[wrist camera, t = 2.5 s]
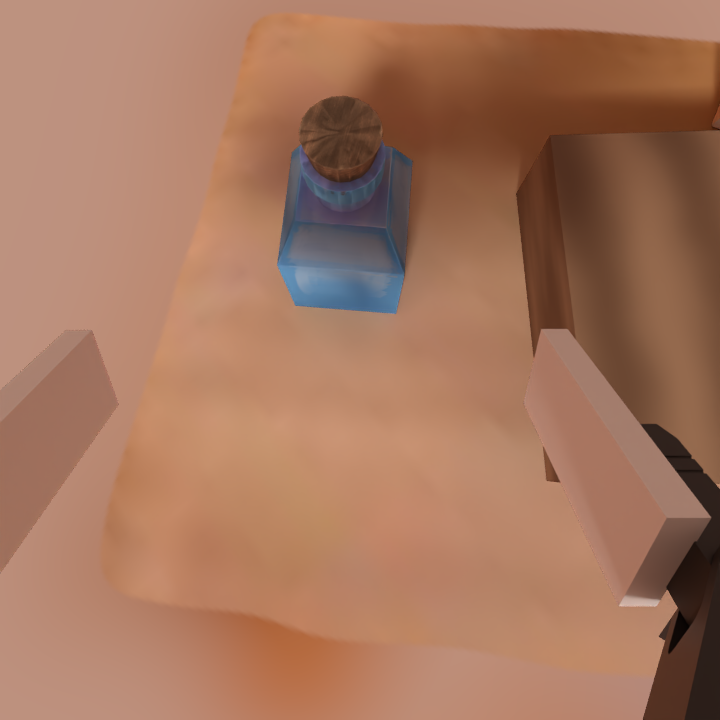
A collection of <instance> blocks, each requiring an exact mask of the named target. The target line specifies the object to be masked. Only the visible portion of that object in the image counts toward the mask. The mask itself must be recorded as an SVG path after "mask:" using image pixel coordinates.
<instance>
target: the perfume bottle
mask: <svg viewBox="0 0 720 720" xmlns="http://www.w3.org/2000/svg"><path fill="white" fill-rule="evenodd" d="M382 137H383V131H382V123H381V121H380V119H379V117H378V114H377V113H376V112H375V111H374V110H373V109H372V108H371V107H370V106H369V105H368V104H367V103H365V102H363V101H361V100H359V99H357V98H352V97H348V96H336V97H330V98H327V99H324V100H321V101H319V102H318V103H316V104H315V105H314V106H312V107H311V108H310V109H309V110H308V111H307V113H306V114H305V115H304V117H303V118H302V121H301V125H300V128H299V138H300V143H301V145H300V146H299V147H297V148H296V149H295V150H294V151H293V152H292V156H291V164H290V172H289V179H288V187H287V195H286V202H285V210H284V218H283V225H282V233H281V240H280V248H279V256H278V263H277V266H278V268H279V270H280V272H281V275H282V277H283V279H284V281H285V283H286V286H287V288H288V290H289V292H290V294H291V297H292V299H293V301H294V303H295V305H296V306H307V307H319V308H332V309H344V310H356V311H369V312H381V313H394V314H396V311H397V306H398V302H399V297H400V293H401V288H402V284H403V279H404V274H405V260H406V246H407V232H408V218H409V204H410V190H411V176H412V162H413V161H412V160H410V159H409V158H407V157H406V156H405V155H403V154H402V153H400V152H399V151H398V150H396V149H395V148H393V147H387V146H384V143H383V141H382Z"/></svg>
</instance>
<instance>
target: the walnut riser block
mask: <svg viewBox="0 0 720 720" xmlns="http://www.w3.org/2000/svg"><path fill="white" fill-rule="evenodd" d="M516 195H517V205H518V214H519V223H520V233H521V242H522V252H523V261H524V271H525V280H526V290H527V299H528V309H529V318H530V328H531V337H532V347H533V356H534V357H535V353H536V349H537V344H538V340H539V336H540V332H541V329H568V330H569V332H570V333H571V334H572V335H573V337H574V338H575V339H576V341H577V342H578V343H579V345H580V346H581V347H582V349H583V350H584V351H585V353H586V354H587V355H588V356H589V358H590V359H591V360H592V362H593V363H594V364H595V366H596V367H597V368H598V370H599V371H600V372H601V374H602V375H603V376H604V377H605V379H606V380H607V381H608V383H609V384H610V385H611V387H612V388H613V389H614V391H615V392H616V393H617V395H618V396H619V397H620V398H621V400H622V401H623V402H624V404H625V405H626V406H627V408H628V409H629V410H630V412H631V413H632V414H633V416H634V417H635V418H636V419H637V421H638V422H639V423H640V424H658V425H659V426H661V427H662V428H663V429H665V430H666V431H668V432H669V433H670V434H672V435H673V436H675V437H676V438H678V440H679V441H680V442H681V443H682V444H683V446H684V447H685V448H686V449H687V450H688V452H689V453H690V454H691V455H692V459H695V460H696V461H697V463H698V464H699V465H700V466H701V467H702V469H703V472H704V473H707V475H708V476H709V477H710V478H711V479H712V481H713V482H714V483H715V484H720V130H712V131H678V132H644V133H611V134H577V135H550V137H549V138H548V140H547V142H546V144H545V145H544V147H543V149H542V151H541V152H540V154H539V156H538V157H537V159H536V161H535V163H534V164H533V166H532V168H531V170H530V171H529V173H528V175H527V176H526V178H525V180H524V182H523V183H522V185H521V187H520V189H519V190H518V192H517V194H516ZM543 451H544V460H545V470H546V479H547V481H552V482H560V480H559V478H558V476H557V474H556V472H555V470H554V468H553V465H552V463H551V461H550V459H549V457H548V455H547V453H546V450H545V448H544V446H543ZM560 483H561V482H560Z"/></svg>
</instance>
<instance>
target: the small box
mask: <svg viewBox="0 0 720 720" xmlns="http://www.w3.org/2000/svg"><path fill="white" fill-rule="evenodd" d="M712 126H713V127H715V128H717V129H720V104H719V107H718V110H717V112H716V115H715V117H714V120H713V122H712Z"/></svg>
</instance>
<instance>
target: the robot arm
mask: <svg viewBox="0 0 720 720" xmlns="http://www.w3.org/2000/svg"><path fill="white" fill-rule="evenodd" d="M523 404H524V406H525V408H526V410H527V412H528V414H529V416H530V419H531V421H532V423H533V425H534V427H535V429H536V431H537V433H538V436H539V438H540V440H541V442H542V444H543V446H544V448H545V450H546V453H547V455H548V457H549V459H550V461H551V463H552V465H553V468H554V470H555V472H556V474H557V476H558V478H559V480H560V482H561V485H562V487H563V489H564V491H565V493H566V495H567V497H568V499H569V502H570V504H571V506H572V508H573V510H574V512H575V514H576V516H577V519H578V521H579V523H580V525H581V527H582V529H583V531H584V533H585V536H586V538H587V540H588V542H589V544H590V546H591V548H592V551H593V553H594V555H595V557H596V559H597V561H598V563H599V565H600V568H601V570H602V572H603V574H604V576H605V578H606V580H607V582H608V585H609V587H610V589H611V591H612V593H613V595H614V597H615V599H616V602H617V604H618V606H657V604H658V603H659V601H660V600H661V598H662V596H663V595H664V593H665V592H666V590H668V591H669V593H670V595H671V596H672V598H673V600H674V602H675V603H676V605H677V607H678V609H677V610H676V612H675V613H674V615H673V616H672V618H671V619H670V621H669V622H668V624H667V625H666V627H665V628H664V630H663V631H662V632H661V634H660V635H659V637H660V638H662V639H663V640H665V639H666V640H665V643H664V647H663V650H662V654H661V657H660V661H659V664H658V668H657V671H656V675H655V678H654V682H653V685H652V689H651V693H650V696H649V699H648V703H647V707H646V710H645V713H644V717H643V720H720V489H719V488H718V487H717V485H716V484H715V483H714V482H713V481H712V479H711V478H710V477H709V476H708V475H707V473H704V472H703V469H702V467H701V466H700V465H699V464H698V463H697V461H696V460H695V459H692V455H691V454H690V453H689V452H688V450H687V449H686V448H685V447H684V446H683V444H682V443H681V442H680V441H679V440H678V438H676V437H675V436H673V435H672V434H670V433H669V432H668V431H666V430H665V429H663V428H662V427H661V426H659V425H658V424H640V423H639V422H638V421H637V419H636V418H635V417H634V416H633V414H632V413H631V412H630V410H629V409H628V408H627V406H626V405H625V404H624V402H623V401H622V400H621V398H620V397H619V396H618V395H617V393H616V392H615V391H614V389H613V388H612V387H611V385H610V384H609V383H608V381H607V380H606V379H605V377H604V376H603V375H602V374H601V372H600V371H599V370H598V368H597V367H596V366H595V364H594V363H593V362H592V360H591V359H590V358H589V356H588V355H587V354H586V353H585V351H584V350H583V349H582V347H581V346H580V345H579V343H578V342H577V341H576V339H575V338H574V337H573V335H572V334H571V333H570V332H569V330H568V329H541V332H540V336H539V340H538V344H537V349H536V353H535V357H534V361H533V365H532V370H531V374H530V378H529V382H528V386H527V391H526V395H525V399H524V403H523ZM118 405H119V403H118V400H117V398H116V395H115V392H114V390H113V387H112V384H111V381H110V379H109V376H108V373H107V370H106V368H105V365H104V363H103V359H102V357H101V354H100V351H99V349H98V346H97V343H96V340H95V337H94V335H93V332H92V330H65V331H64V332H63V333H62V334H61V335H60V336H59V337H58V338H57V339H56V340H54V341H53V342H52V343H51V344H50V345H49V346H48V347H47V348H46V349H45V350H44V351H43V352H42V353H40V354H39V355H38V356H37V357H36V358H35V359H34V360H33V361H32V362H31V363H29V364H28V365H27V366H26V367H25V368H24V369H23V370H22V371H21V372H20V373H19V374H18V375H16V376H15V377H14V378H13V379H12V380H11V381H10V382H9V383H8V384H7V385H6V386H5V387H3V388H2V390H0V573H1V572H2V570H3V569H4V567H5V566H6V565H7V563H8V562H9V560H10V559H11V557H12V556H13V555H14V553H15V552H16V550H17V549H18V547H19V546H20V545H21V543H22V541H23V540H24V539H25V537H26V536H27V535H28V533H29V532H30V530H31V529H32V527H33V526H34V525H35V523H36V522H37V520H38V519H39V517H40V516H41V515H42V513H43V512H44V510H45V509H46V507H47V506H48V505H49V503H50V502H51V500H52V499H53V497H54V496H55V495H56V493H57V491H58V490H59V489H60V488H61V486H62V484H63V483H64V482H65V480H66V479H67V477H68V476H69V475H70V473H71V472H72V470H73V469H74V467H75V466H76V465H77V463H78V462H79V460H80V459H81V458H82V456H83V455H84V453H85V452H86V450H87V449H88V447H89V446H90V444H91V443H92V442H93V440H94V439H95V437H96V436H97V435H98V433H99V432H100V430H101V429H102V428H103V426H104V425H105V423H106V422H107V420H108V419H109V417H110V416H111V415H112V413H113V412H114V410H115V409H116V407H117V406H118Z"/></svg>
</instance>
